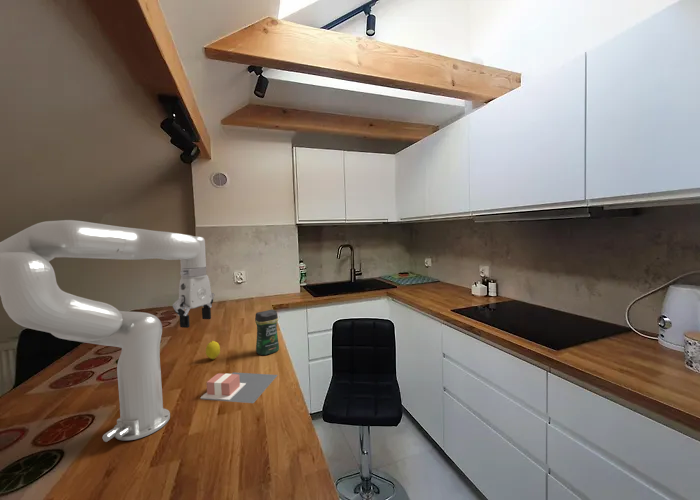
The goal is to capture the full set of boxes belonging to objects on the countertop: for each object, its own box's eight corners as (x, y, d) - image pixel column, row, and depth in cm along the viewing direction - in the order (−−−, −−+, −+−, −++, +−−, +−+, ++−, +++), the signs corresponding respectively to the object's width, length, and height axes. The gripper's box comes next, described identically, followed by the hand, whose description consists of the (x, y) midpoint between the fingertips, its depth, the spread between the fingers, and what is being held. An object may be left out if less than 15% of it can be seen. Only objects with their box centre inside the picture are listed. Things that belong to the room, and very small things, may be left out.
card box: (207, 394, 94) (206, 382, 94) (218, 384, 100) (218, 373, 100) (229, 396, 92) (228, 383, 92) (240, 385, 98) (239, 374, 98)
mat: (253, 404, 89) (253, 403, 88) (201, 400, 92) (200, 399, 92) (277, 376, 106) (277, 374, 106) (233, 373, 109) (233, 372, 109)
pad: (229, 400, 90) (229, 399, 90) (200, 398, 92) (200, 397, 92) (245, 384, 100) (245, 383, 100) (219, 382, 102) (219, 381, 102)
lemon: (204, 359, 123) (203, 341, 122) (217, 355, 127) (216, 337, 126) (209, 363, 119) (208, 344, 119) (222, 358, 123) (221, 340, 123)
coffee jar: (262, 357, 123) (260, 314, 122) (253, 352, 129) (251, 311, 128) (282, 351, 130) (280, 310, 129) (273, 346, 135) (271, 307, 135)
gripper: (182, 276, 88) (185, 331, 89) (220, 270, 105) (222, 316, 106) (162, 276, 90) (165, 330, 91) (203, 270, 107) (205, 315, 107)
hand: (196, 322), depth 98 cm, fingers open, 9 cm apart
